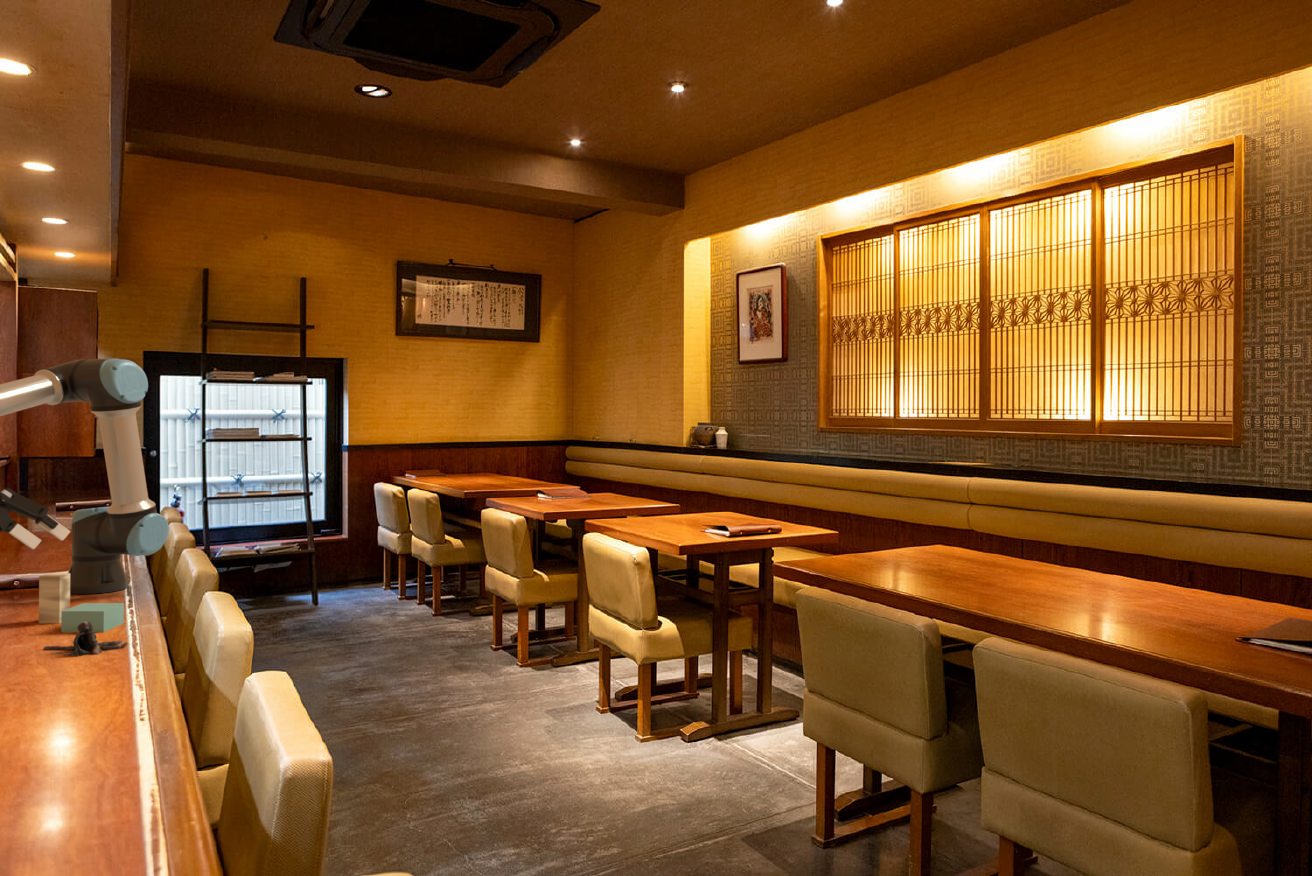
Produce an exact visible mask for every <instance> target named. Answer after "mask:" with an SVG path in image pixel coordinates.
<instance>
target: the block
mask: <svg viewBox="0 0 1312 876" xmlns="http://www.w3.org/2000/svg"><path fill="white" fill-rule="evenodd" d="M38 577H39V578H38V582H39V583H38V585H39V586H38V624H61V622H62V611H64V610H66V609H69V608H71V593H70V573H68V572H64V573H62V572H56V573H53V572H51V573H47V574H42V575H40V576H38Z"/></svg>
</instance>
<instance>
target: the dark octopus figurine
mask: <svg viewBox="0 0 1312 876" xmlns="http://www.w3.org/2000/svg"><path fill="white" fill-rule="evenodd" d="M92 628H93V625H92V624H91V623H90V622H86V621H85V622H83V623H81V624H79V625H78V627H77V629H78V630H79V632H78V633H77V634H76V635H75V637H74V639H73V642H72V644H73V645H68V646H66V645H65V646H64V645H63V646H60V645H48V646H44V647H43V650H45V651H65V652H52V653H51V654H53V655H62V656H71V657H82V656H83V657H84V656H87V655H94V656H95V655H96V656H97V655H100V654H101V653H102V652H106V651H113V650H121V649H124V648H125V647H127V646H128V642H127V641H125V642H124V643H122V642H123V640H122V639H118V640H113V641H102V642H99V641H98V640H97V634H96V632H92ZM90 652H91V653H90Z"/></svg>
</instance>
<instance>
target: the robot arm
mask: <svg viewBox="0 0 1312 876" xmlns="http://www.w3.org/2000/svg"><path fill="white" fill-rule="evenodd" d="M148 388H149V381H148V377H147V374H146V373H145V371H144V370H143V369H142V367H141V366H140V365H138V364H136V362H134V361H132V360H129V359H123V358H81V359H75V360H72V361H69V362H65V363H61V364H58V365H54V366H52V367H47V368H43V369H39V370H37V371H36V372H35V373H34V375H32V376H28V377H24V378H21V379H16V380H11V381H8V382H5V383H1V384H0V417H3V416H5V415H10V414H13V413H16V412H20V411H24V410H27V409H31V408H34V407H37V406H41V405H45V404H46V405H48V406H49V405H50V406H55V405H59V404H62V403H77V402H78V403H89V407H90V408H89V409H90V413H92V414H94V415H95V416H96V417H98V421H99V428H100V429H99V430H100V434H101V440H102V447H103V448H102V449H103V453H104V459H105V460H104V461H105V467H106V472H107V479H108V486H109V491H110V498H111V505H110V506H102V507H101V506H99V507H91V508H81V509H77V510H75V511H74V512H73V514H72V519H71V524H70V525H71V531H70V530H69V529H68V528H66V527H65V526H64V525H63V524H61V523H60V522H58V521H57V520H55V518H53V517H51V516H50V515H49V514H48V512H50V509H49V508H48V507H45V506H44V505H42V504H40V503H37V502H36V501H34V500H31V499H29V498H28V497H26V496H24V495H21V494H20V493H17V492H16V491H14V490H13V489H11V488H10V487H7V486H6V487H5V488H3V490H1V489H0V533H2V532H4V533H8V534H9V535H10V536H12V537H14V538H15V539H17V540H18V541H20V543H22V544H24V545H25V546H27V548H29V549H30V550H34V549H36V548H37V546H38V545H39V544H40V543H41V542H42V539H40V538H39V537H37V535H35V534H33V533H32V532H31V531H29V530H28V529H26V528H25V527H24V526H22V525H21V524H19V523H18V521H16V520H14V519H12V517H11V516H10V514H9V513H11V512H12V513H14V514H17V515H20V516H22V517H25V518H28V519H30V520H33V521H34V522H35V525H39V526H40V528H43V529H44V530H45V531H46V532H48V533H49V534H51V535H53V537H55V538H57V539H58V540H59V541H61V542H62V541H64V540H65V539H66V538H67V537H68V535H70V533H71V564H70V567H69V570H68V571H67V573H70V595H72V594H74V595H85V594H86V595H90V594H91V595H92V594H102V593H111V592H118V591H121V590H125V589H127V588H128V583H129V582H128V577H127V575H126V572H125V569H124V565H123V564H122V559H121V558H122V557H121V556H122V555H126V556H127V555H128V556H133V557H140V556H150V555H153V554H155V553H157V552H158V551H159V550H160V549H162V547H163V546H164V543H166V541H167V539H168V536H169V531H170V527H169V521H168V520H167V518H166V517H164V515H162V514H160V513H158V512H157V506H156V503H155V501H153V500H151V499H150V498H149V493H148V488H147V487H148V486H147V482H146V481H147V480H146V475H145V474H146V473H145V467H144V461H143V454H142V448H141V441H140V433H139V427H138V420H137V412H138V411H139V410H140V409H141V408H142V404H141V400H143V399H144V398H145V396H146V393H148V390H149V389H148Z"/></svg>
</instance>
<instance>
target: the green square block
mask: <svg viewBox="0 0 1312 876" xmlns="http://www.w3.org/2000/svg"><path fill="white" fill-rule="evenodd" d="M85 621H86V622H90V623H91V624H92V625H93V628H92V632H94V633H104V632H108V631H110V630H112V629H114V628H116V627H118V626H120V625H123V624H124V623H125V603H124V602H83V603H80V604H78V605H74V606H72V607H70V608H69V609H66V610H64V611H62V622H61V623H60V624H61V625H60V626H61V630H60V631H61V633H79V630H78V629H77V627H78V625H79V624H81V623H83V622H85Z"/></svg>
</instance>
